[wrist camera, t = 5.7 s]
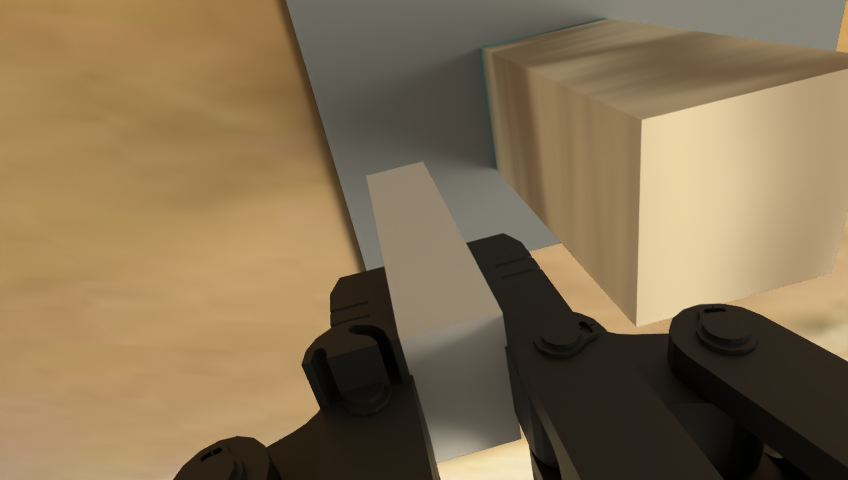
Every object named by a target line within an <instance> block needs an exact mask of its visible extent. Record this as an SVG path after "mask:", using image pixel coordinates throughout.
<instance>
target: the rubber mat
mask: <svg viewBox="0 0 848 480" xmlns="http://www.w3.org/2000/svg"><path fill="white" fill-rule="evenodd" d="M286 3H287V6H288V9H289V13H290V16H291V19H292V23H293V26H294V30H295V33H296V36H297V40H298V43H299V46H300V50H301V53H302V56H303V60H304V63H305V66H306V70H307V73H308V76H309V80H310V83H311V86H312V90H313V93H314V96H315V100H316V103H317V107H318V110H319V113H320V117H321V120H322V123H323V127H324V130H325V133H326V137H327V140H328V143H329V147H330V150H331V153H332V157H333V160H334V163H335V167H336V170H337V173H338V177H339V180H340V184H341V187H342V190H343V194H344V197H345V200H346V204H347V207H348V210H349V214H350V217H351V220H352V224H353V227H354V230H355V234H356V237H357V240H358V244H359V247H360V250H361V254H362V257H363V260H364V264H365V267H366V271H368V270H372V269H375V268H379V267H383V266H384V261H383V257H382V252H381V247H380V242H379V237H378V232H377V227H376V222H375V217H374V212H373V207H372V202H371V197H370V192H369V187H368V182H367V177H366V176H367V175H371V174H375V173H379V172H383V171H387V170H391V169H395V168H399V167H403V166H407V165H411V164H415V163H419V162H424V164H425V166H426V168H427V170H428V172H429V174H430V176H431V178H432V179H433V181H434V183H435V185H436V187H437V189H438V191H439V193H440V195H441V197H442V198H443V200H444V202H445V204H446V206H447V208H448V210H449V212H450V214H451V216H452V217H453V219H454V221H455V223H456V225H457V227H458V229H459V231H460V233H461V235H462V236H463V238H464V240H465V242H466V243H467V242H471V241H475V240H479V239H482V238H486V237H490V236H494V235H498V234H501V233H505V234H507V235H509V236H511V237H513V238H515V239H517V240H519V241H521V242H522V243H523V245H524V246H525V247H526V249H527V250H528V252H529V251H533V250H536V249H540V248H544V247H548V246H552V245H556V244H559V243H561V242H560V241H559V240H558V239H557V238H556V236H555V235H554V234H553V233H552V232H551V231H550V230H549V229H548V227H547V226H546V225H545V224H544V223H543V222H542V221H541V220H540V218H539V217H538V216H537V215H536V214H535V213H534V212H533V211H532V209H531V208H530V207H529V206H528V205H527V204H526V203H525V202H524V200H523V199H522V198H521V197H520V196H519V195H518V194H517V193H516V191H515V190H514V189H513V188H512V187H511V186H510V185H509V184H508V182H507V181H506V180H505V179H504V178H503V177H502V176H501V175H500V173H499V172H498V171H497V170H496V167H495V159H494V152H493V144H492V136H491V128H490V120H489V113H488V105H487V97H486V89H485V81H484V74H483V66H482V58H481V50H480V47H484V46H488V45H493V44H497V43H501V42H505V41H510V40H514V39H518V38H522V37H527V36H531V35H535V34H540V33H544V32H548V31H552V30H557V29H561V28H565V27H569V26H574V25H578V24H582V23H586V22H591V21H595V20H599V19H603V18H608V19H615V20H622V21H629V22H636V23H643V24H650V25H657V26H664V27H671V28H678V29H684V30H691V31H698V32H705V33H712V34H719V35H726V36H733V37H740V38H747V39H754V40H761V41H768V42H775V43H782V44H789V45H796V46H803V47H810V48H817V49H824V50H831V51H836V47H837V42H838V38H839V33H840V28H841V23H842V18H843V14H844V9H845V4H846V0H286Z"/></svg>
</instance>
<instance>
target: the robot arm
mask: <svg viewBox="0 0 848 480" xmlns="http://www.w3.org/2000/svg"><path fill="white" fill-rule="evenodd" d="M366 177H367V182H368V187H369V192H370V197H371V202H372V207H373V212H374V217H375V222H376V227H377V232H378V237H379V242H380V247H381V252H382V257H383V261H384V266H383V267H379V268H375V269H372V270H368V271H364V272H360V273H357V274H353V275H349V276H345V277H341V278H339V280H338V282H337V284H336V285H335V287H334V289H333V290H332V292H331V294H330V312H331V314H330V325H331V329H329V330H328V331H326V332H325V333H323V334H322V335H320V336H319V337H318V338H316V339H315V341H314V342H313V343H312V344H311V346H310V347H309V348H308V349H307V350H306V352H305V355H304V358H303V362H302V367H303V370H304V372H305V374H306V377H307V379H308V381H309V384H310V386H311V388H312V390H313V393H314V395H315V397H316V400H317V402H318V404H319V407H320V410H319V411H318V413H317V414H316V415H315V416H314V417H313V418H311V419H310V420H309V421H308V422H307V423H306V424H305V425H303V426H302V427H300V428H299V429H297V430H296V431H294V432H293V433H291V434H289V435H287V436H286V437H284V438H282V439H280V440H279V441H277V442H275V443H273V444H271V445H270V446H268V447H265V446H264V445H263V444H262V443H260V442H259V441H257V440H256V439H254V438H250V437H241V436H236V437H232V438H228V439H224V440H220V441H218V442H216V443H214V444H212V445H210V446H209V447H207V448H205V449H203V450H201V451H200V452H199V453H197V454H196V455H195V456H194V457H193V458H192V459H191V460H189V461H188V462H187V463H186V464H185V465H184V466H183V467H182V468H181V469H180V471H179V472H178V474H177V475H176V476H175V478H174V479H173V480H440V476H439V472H438V468H437V463H440V462H443V461H446V460H450V459H453V458H457V457H460V456H464V455H467V454H471V453H474V452H478V451H481V450H485V449H488V448H491V447H495V446H498V445H502V444H505V443H509V442H512V441H516V440H519V439H521V433H520V426H519V423H520V425H521V428H522V430H523V432H524V435H525V437H526V439H527V442H528V444H529V449H530V456H531V463H532V471H533V478H534V480H848V361H846V360H844V359H842V358H840V357H839V356H837V355H835V354H833V353H831V352H829V351H827V350H825V349H824V348H822V347H820V346H818V345H816V344H814V343H812V342H811V341H809V340H807V339H805V338H803V337H801V336H799V335H797V334H796V333H794V332H792V331H790V330H788V329H786V328H784V327H783V326H781V325H779V324H777V323H775V322H773V321H771V320H770V319H768V318H766V317H764V316H762V315H760V314H757V313H755V312H752V311H750V310H747V309H745V308H742V307H738V306H732V305H726V304H721V303H716V304H699V305H695V306H692V307H689V308H686V309H683V310H682V311H681V312H679V313H678V314H677V315H676V316H675V317H673V319H672V322H671V325H670V329H669V334H637V335H630V334H616V333H611V332H607V330H606V329H605V328H604V327H603V326H601V325H600V324H599V323H598V322H597V321H595V320H594V319H593V318H590V317H588V316H585V315H583V314H580V313H577V312H573V311H572V310H571V308H570V307H569V306H568V304H567V303H566V302H565V300H564V299H563V298H562V296H561V295H560V294H559V292H558V291H557V289H556V288H555V287H554V285H553V284H552V283H551V281H550V280H549V279H548V277H547V276H546V275H545V273H544V272H543V271H542V270H540V266H539V265H538V264H537V262H536V261H535V260H534V258H532V256H531V254H530V253H529V252H528V250H527V249H526V247H525V246H524V245H523V243H522V242H521V241H519V240H517V239H515V238H513V237H511V236H509V235H507V234H505V233H501V234H498V235H494V236H490V237H486V238H482V239H479V240H475V241H471V242H467V243H466V242H465V240H464V238H463V236H462V235H461V233H460V231H459V229H458V227H457V225H456V223H455V221H454V219H453V217H452V216H451V214H450V212H449V210H448V208H447V206H446V204H445V202H444V200H443V198H442V197H441V195H440V193H439V191H438V189H437V187H436V185H435V183H434V181H433V179H432V178H431V176H430V174H429V172H428V170H427V168H426V166H425V164H424V162H419V163H415V164H411V165H407V166H403V167H399V168H395V169H391V170H387V171H383V172H379V173H375V174H371V175H367V176H366Z"/></svg>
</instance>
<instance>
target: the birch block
mask: <svg viewBox="0 0 848 480" xmlns="http://www.w3.org/2000/svg"><path fill="white" fill-rule="evenodd" d="M480 50H481V58H482V66H483V74H484V81H485V89H486V97H487V105H488V113H489V120H490V128H491V136H492V144H493V152H494V159H495V167H496V170H497V171H498V172H499V173H500V175H501V176H502V177H503V178H504V179H505V180H506V181H507V182H508V184H509V185H510V186H511V187H512V188H513V189H514V190H515V191H516V193H517V194H518V195H519V196H520V197H521V198H522V199H523V200H524V202H525V203H526V204H527V205H528V206H529V207H530V208H531V209H532V211H533V212H534V213H535V214H536V215H537V216H538V217H539V218H540V220H541V221H542V222H543V223H544V224H545V225H546V226H547V227H548V229H549V230H550V231H551V232H552V233H553V234H554V235H555V236H556V238H557V239H558V240H559V241H560V242H561V243H562V244H563V245H564V247H565V248H566V249H567V250H568V251H569V252H570V253H571V254H572V256H573V257H574V258H575V259H576V260H577V261H578V262H579V263H580V265H581V266H582V267H583V268H584V269H585V270H586V271H587V272H588V274H589V275H590V276H591V277H592V278H593V279H594V280H595V281H596V283H597V284H598V285H599V286H600V287H601V288H602V289H603V290H604V292H605V293H606V294H607V295H608V296H609V297H610V298H611V299H612V301H613V302H614V303H615V304H616V305H617V306H618V307H619V308H620V310H621V311H622V312H623V313H624V314H625V315H626V316H627V317H628V319H629V320H630V321H631V322H632V323H633V324H634V325H635V326H636V327H639V326H643V325H646V324H650V323H653V322H657V321H661V320H664V319H668V318H672V317H675V316H676V315H677V314H678V313H679V312H681V311H682V310H683V309H686V308H689V307H692V306H695V305H699V304H716V303H721V304H722V303H726V302H730V301H733V300H737V299H740V298H744V297H748V296H751V295H755V294H759V293H762V292H766V291H769V290H773V289H777V288H780V287H784V286H788V285H791V284H795V283H799V282H802V281H806V280H809V279H813V278H817V277H820V276H824V275H828V274H831V273H832V272H833V268H834V264H835V260H836V256H837V253H838V249H839V245H840V241H841V237H842V233H843V229H844V226H845V222H846V218H847V214H848V53H845V52H838V51H831V50H824V49H817V48H810V47H803V46H796V45H789V44H782V43H775V42H768V41H761V40H754V39H747V38H740V37H733V36H726V35H719V34H712V33H705V32H698V31H691V30H684V29H678V28H671V27H664V26H657V25H650V24H643V23H636V22H629V21H622V20H615V19H608V18H603V19H599V20H595V21H591V22H586V23H582V24H578V25H574V26H569V27H565V28H561V29H557V30H552V31H548V32H544V33H540V34H535V35H531V36H527V37H522V38H518V39H514V40H510V41H505V42H501V43H497V44H493V45H488V46H484V47H480Z"/></svg>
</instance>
